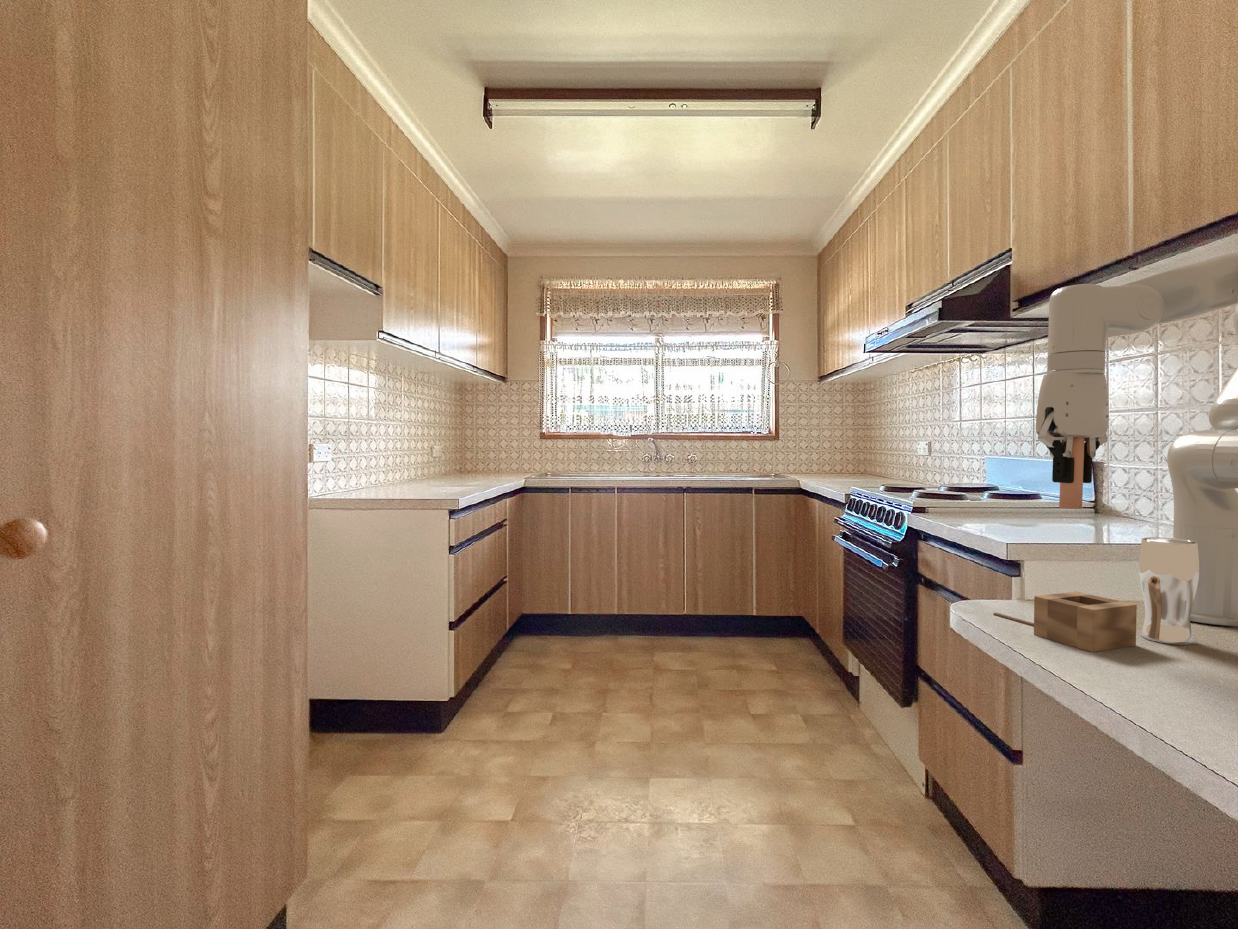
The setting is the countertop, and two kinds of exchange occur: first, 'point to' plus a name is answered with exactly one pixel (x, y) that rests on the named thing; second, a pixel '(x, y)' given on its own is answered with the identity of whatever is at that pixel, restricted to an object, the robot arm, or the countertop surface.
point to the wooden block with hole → (1085, 621)
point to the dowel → (1074, 491)
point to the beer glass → (1168, 588)
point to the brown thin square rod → (1014, 619)
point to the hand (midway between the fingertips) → (1071, 481)
